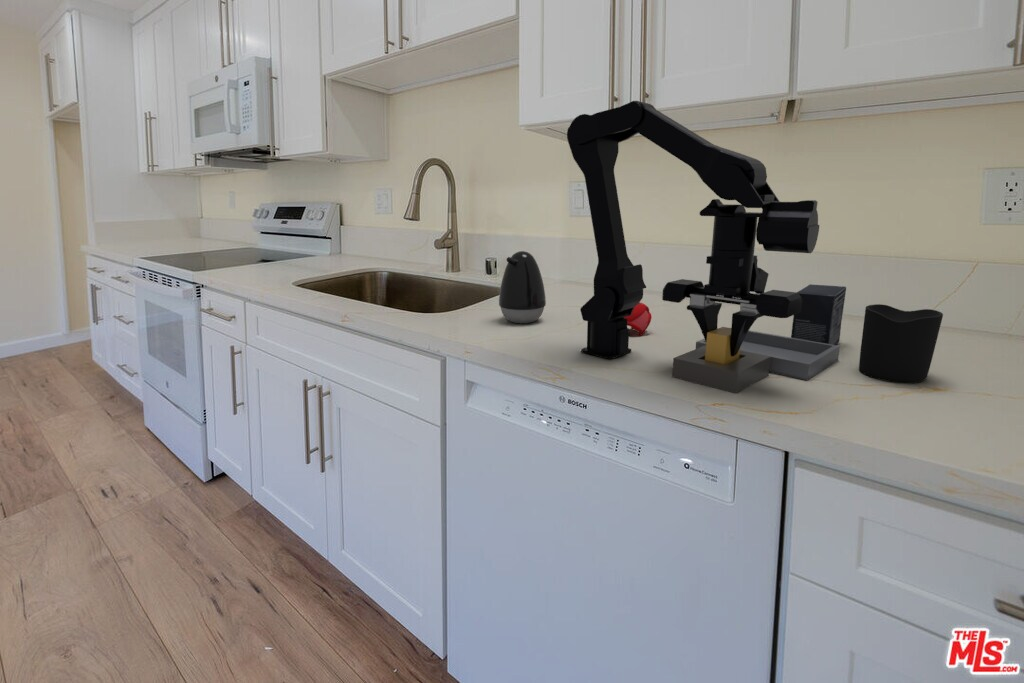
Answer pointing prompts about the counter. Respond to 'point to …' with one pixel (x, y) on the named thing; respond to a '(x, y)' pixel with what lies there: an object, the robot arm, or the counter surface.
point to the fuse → (720, 346)
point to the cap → (639, 318)
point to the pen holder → (898, 343)
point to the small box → (820, 314)
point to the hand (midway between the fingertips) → (722, 353)
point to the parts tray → (789, 353)
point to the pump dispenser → (522, 289)
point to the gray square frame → (721, 370)
